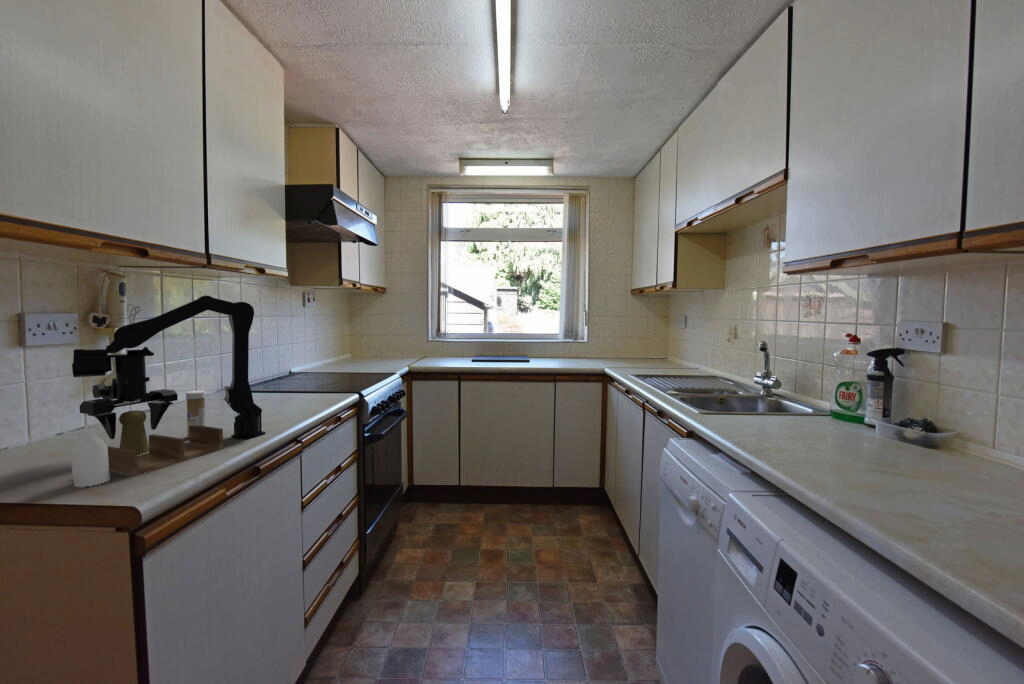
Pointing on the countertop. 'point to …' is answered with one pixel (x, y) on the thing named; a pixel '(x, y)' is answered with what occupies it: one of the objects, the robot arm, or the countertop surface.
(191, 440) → the rack
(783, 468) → the countertop surface
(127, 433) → the olive bottle gourd
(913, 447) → the countertop surface
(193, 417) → the sprinkles bottle
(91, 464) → the grey pointed block
